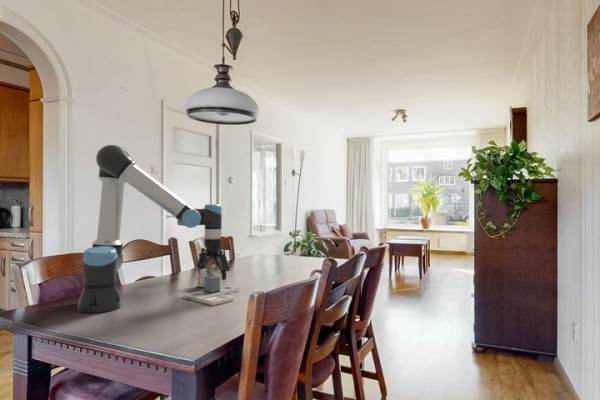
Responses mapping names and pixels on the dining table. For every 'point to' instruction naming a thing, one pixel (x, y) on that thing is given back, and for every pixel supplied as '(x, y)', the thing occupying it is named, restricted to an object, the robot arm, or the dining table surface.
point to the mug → (209, 272)
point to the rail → (201, 293)
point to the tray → (214, 299)
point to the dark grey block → (212, 284)
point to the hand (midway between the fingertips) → (212, 284)
